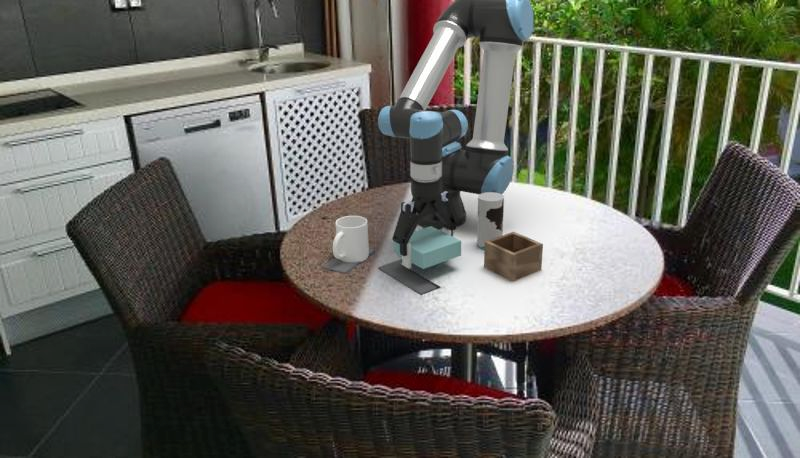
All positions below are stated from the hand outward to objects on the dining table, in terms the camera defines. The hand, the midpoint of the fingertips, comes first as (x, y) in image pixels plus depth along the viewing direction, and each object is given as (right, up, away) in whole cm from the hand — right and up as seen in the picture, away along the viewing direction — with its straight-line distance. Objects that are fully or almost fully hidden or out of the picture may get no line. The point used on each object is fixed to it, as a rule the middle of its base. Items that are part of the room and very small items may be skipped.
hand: (427, 259), depth 171 cm
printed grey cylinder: (+17, +2, +12) cm, 21 cm away
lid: (0, 0, 0) cm, 0 cm away
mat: (0, -3, +1) cm, 3 cm away
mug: (-20, -1, +8) cm, 22 cm away
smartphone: (-20, -1, +9) cm, 22 cm away
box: (+21, -3, -1) cm, 22 cm away
